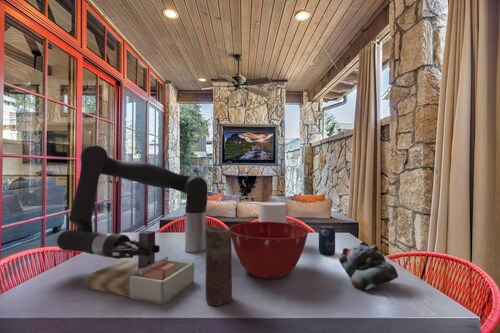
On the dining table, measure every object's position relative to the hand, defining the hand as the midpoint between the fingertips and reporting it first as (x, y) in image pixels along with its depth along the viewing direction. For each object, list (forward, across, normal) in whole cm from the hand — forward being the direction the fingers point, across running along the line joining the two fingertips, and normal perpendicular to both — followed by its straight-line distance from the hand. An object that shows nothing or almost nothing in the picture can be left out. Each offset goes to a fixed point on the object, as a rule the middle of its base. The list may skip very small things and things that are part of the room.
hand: (154, 250), depth 81 cm
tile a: (+1, +3, +8) cm, 8 cm away
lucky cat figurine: (+63, +25, +11) cm, 68 cm away
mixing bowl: (+30, +24, +11) cm, 40 cm away
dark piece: (-3, 0, +6) cm, 7 cm away
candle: (+22, 0, +11) cm, 25 cm away
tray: (+3, 0, +11) cm, 12 cm away
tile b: (+1, -3, +8) cm, 8 cm away
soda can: (+49, +52, +11) cm, 72 cm away
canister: (+23, +59, +11) cm, 65 cm away
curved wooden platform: (-10, 0, +11) cm, 15 cm away
